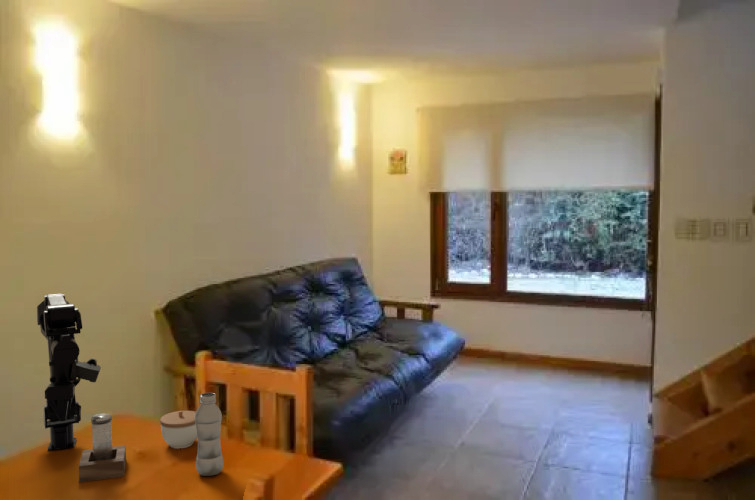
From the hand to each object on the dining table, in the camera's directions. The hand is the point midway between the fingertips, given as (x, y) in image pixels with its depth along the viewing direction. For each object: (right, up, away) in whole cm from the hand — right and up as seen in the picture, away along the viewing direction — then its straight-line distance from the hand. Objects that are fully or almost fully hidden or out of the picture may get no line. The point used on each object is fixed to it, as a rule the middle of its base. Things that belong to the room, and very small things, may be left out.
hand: (65, 415), depth 163 cm
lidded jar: (+25, -12, +14) cm, 31 cm away
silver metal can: (+11, -12, -3) cm, 16 cm away
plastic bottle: (+38, -14, -4) cm, 40 cm away
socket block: (+11, -13, -2) cm, 17 cm away
